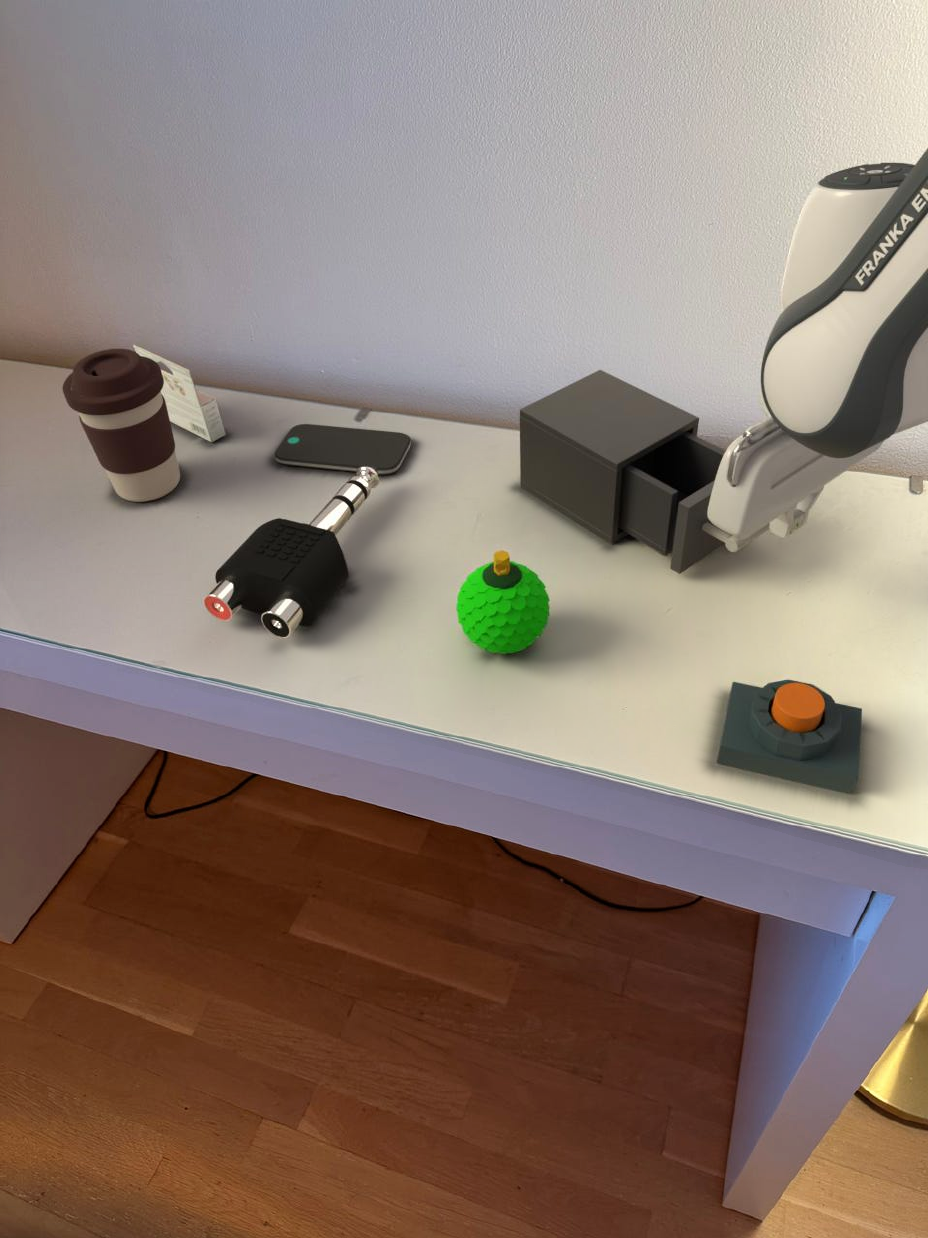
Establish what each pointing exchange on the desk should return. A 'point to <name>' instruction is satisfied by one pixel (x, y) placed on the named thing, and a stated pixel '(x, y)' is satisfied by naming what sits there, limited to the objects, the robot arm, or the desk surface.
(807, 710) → the button
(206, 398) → the ink box
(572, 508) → the small drawer cabinet
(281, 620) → the audio adapter
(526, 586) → the ornament
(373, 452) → the smartphone
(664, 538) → the drawer
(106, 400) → the coffee cup
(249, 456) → the desk surface
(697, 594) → the desk surface
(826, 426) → the robot arm
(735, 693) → the control block
